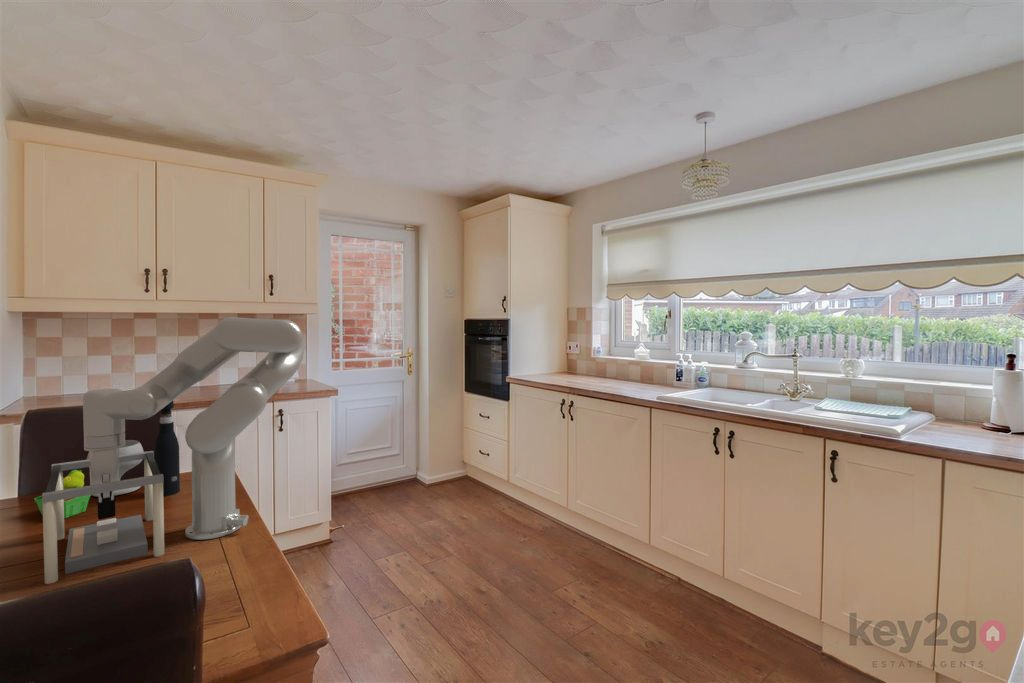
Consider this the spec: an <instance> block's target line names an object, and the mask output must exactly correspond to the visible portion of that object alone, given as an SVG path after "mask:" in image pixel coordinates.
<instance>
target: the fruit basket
mask: <svg viewBox="0 0 1024 683" xmlns="http://www.w3.org/2000/svg"><path fill="white" fill-rule="evenodd" d="M82 471H83V470H81V469H72V470H71V471H70V472H69V473H68V474H67V476H65V477H63V490H65V489H71V488H77V487H83V486H85V474H84V473H83V472H82ZM91 496H92V495H86V496H80V497H74V498H69V499H64V519H67V518H70V517H72V516H73V517H74V516H75V515H79V514H81V513H84V512H86V510H87V507H88V504H89V501H90V498H91ZM34 502H35V503H36V505H37V507H38V509H39V512H40V514H41V515H42V516H43V503H42V495H40V496H36V497H34Z"/></svg>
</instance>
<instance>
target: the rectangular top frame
mask: <svg viewBox="0 0 1024 683" xmlns="http://www.w3.org/2000/svg"><path fill="white" fill-rule="evenodd" d="M142 459H143V460H144V459H147V461H148V464H149V467H150V470H151V472H152V476H146V477H144V476H140V477H134V478H128V479H120V481H115V482H108V483H102V484H96V485H90V484H89V485H84V486H83V487H77V488H71V489H65V490H58V491H55V489H56V485H57V481H58V477H59V473H60V471H63V472H64V471H69V470H71V471H72V470H79V469H84V468H89V467H90V459H88V460H87V459H81V460H73V461H67V462H60V463H52V464H51V467H50V468H51V473H50V476H49V479H48V482H47V486H46V489H45V492H42V494H41V496H42V503H45V502H51V501H57V500H63V499H69V498H74V497H80V496H86V495H91V496H92V494H98V493H104V492H110V491H116V490H121V489H127V488H133V487H139V486H141V487H143V486H144V487H145V485H151V484H157V483H163V482H164V476H163V474H160V471H159V469H158V466H157V464H156V462H155V459H154V450H150V451H144V452H141V453H133V454H126V455H119V463H121V462H128V461H135V460H142ZM143 460H142V461H143Z"/></svg>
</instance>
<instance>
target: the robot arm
mask: <svg viewBox="0 0 1024 683" xmlns="http://www.w3.org/2000/svg"><path fill="white" fill-rule="evenodd" d="M300 327H301V326H299V325H298V323H296V322H294V321H292V320H289V319H275V318H273V319H271V318H270V319H269V318H267V319H266V318H251V317H250V318H248V317H237V316H230V317H225V318H224V319H222V320H220V321H219V322H218V323H217V324H216V326H215V327H213V328H212V329H211V330H209V331H208V332H206V334H204V335H202V337H200V338H199V339H197V340H196V341H194V342H193V343H192V344H190V345H189V346H187V347H186V348H185V349H183V350H182V351H181V352H180V353H178V355H177V356H176V358H175V359H174V360H173V361H172V362H171V363H170V364H169V365H168V366H167V367H165V368H164V369H163V370H161V371H160V372H159V373H157V374H156V375H155V376H153V377H152V378H151V379H149V380H147V382H145V383H143V384H142V385H141V386H138V387H136V388H133V389H130V390H129V389H127V390H122V389H119V388H100V389H98V388H96V389H91V390H88V391H86V392H85V393H84V394H83V395H82V396H83V397H82V414H83V415H82V416H83V417H82V419H83V420H82V421H83V450H84V451H86V452H89V451H90V468H89V486H90V485H96V484H102V483H108V482H115V481H118V478H119V448H120V447H123V446H125V440H126V420H129V421H130V420H132V421H133V420H134V421H138V420H139V421H143V420H146V419H149V418H151V417H153V416H155V415H157V413H159V412H161V409H163V408H164V407H165V406H166V405H168V404H169V403H170V402H172V401H173V402H174V400H176V399H177V398H179V396H181V395H182V394H183V393H185V392H186V391H188V390H189V389H190V388H191V387H192V386H194V385H196V384H197V383H199V382H201V381H204V380H205V379H206V378H207V377H209V376H210V375H212V374H213V373H214V372H215V371H217V370H218V369H220V368H221V367H222V366H224V365H225V364H226V363H227V362H228V361H230V360H231V359H232V358H234V357H235V356H237V355H238V354H239V353H242V352H243V353H267V355H266V356H265V357H264V358H263V359H262V360H260V361H259V363H258V364H256V365H255V366H254V368H252V369H251V370H250V371H249V372H247V373H246V374H245V375H244V376H243V377H241V379H239V380H237V381H236V382H233V384H231V385H230V387H229V388H228V389H227V390H226V391H225V392H224V393H222V395H221V396H220V397H218V398H217V399H215V401H214V402H212V403H211V405H209V406H208V407H207V408H206V409H204V410H202V411H200V412H199V413H198V414H196V415H195V417H194V418H193V419H192V420H191V421H190V423H188V424H189V425H188V426H187V427H186V430H185V438H184V439H185V443H186V445H187V446H188V448H189V449H190V450H191V514H192V516H191V517H192V519H191V520H192V523H191V524H190V525H189V526H187V527H186V528H185V530H184V531H185V533H184V536H185V538H188V539H190V540H198V541H199V540H200V541H203V540H212V539H217V538H221V537H224V536H227V535H230V534H232V533H234V532H236V531H238V530H239V529H241V527H245V526H247V525H248V521H249V518H250V517H249V514H240V508H236V438H237V436H239V435H240V434H241V433H242V432H243V431H244V430H245V429H247V428H248V427H249V426H250V425H251V424H252V423H253V422H254V421H255V420H256V419H257V418H258V417H259V416H260V415H261V414H262V412H263V411H264V410H265V408H266V406H267V403H268V402H269V400H270V399H271V398H272V397H273V395H275V394H276V393H277V392H278V391H279V390H280V389H281V388H282V387H284V385H285V384H286V383H287V382H288V381H289V380H291V378H292V377H293V376H294V375H295V373H296V372H298V369H299V368H300V366H301V364H302V361H303V359H304V353H305V343H304V339H303V331H302V329H301V328H300ZM115 517H116V498H115V496H114V491H110V492H104V493H99V497H98V501H97V520H98V521H101V520H106V519H111V518H115Z"/></svg>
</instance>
